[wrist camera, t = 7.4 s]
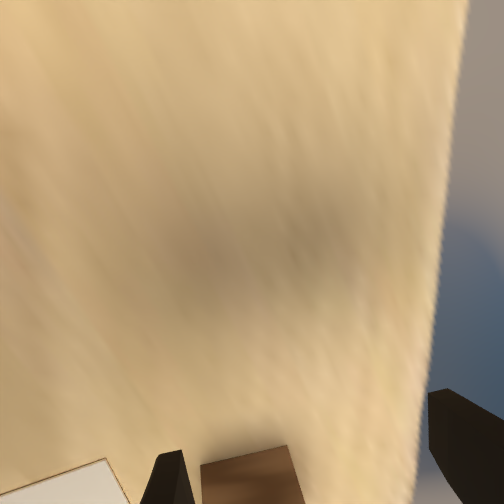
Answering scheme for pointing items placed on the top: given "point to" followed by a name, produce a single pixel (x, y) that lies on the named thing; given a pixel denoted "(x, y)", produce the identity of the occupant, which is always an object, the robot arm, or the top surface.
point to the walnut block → (252, 479)
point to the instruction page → (72, 488)
